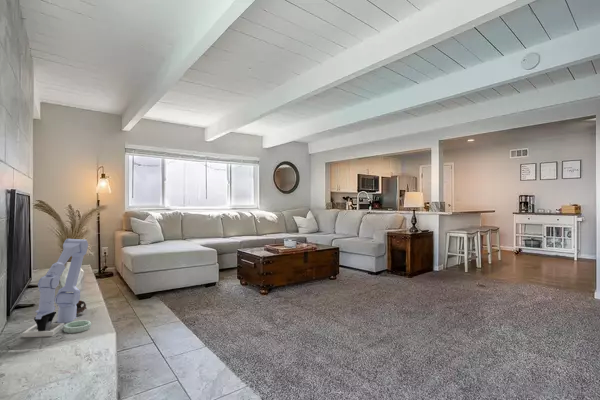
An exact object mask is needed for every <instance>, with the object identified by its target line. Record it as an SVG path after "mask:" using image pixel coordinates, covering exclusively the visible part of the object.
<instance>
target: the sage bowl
mask: <svg viewBox="0 0 600 400" xmlns="http://www.w3.org/2000/svg"><path fill="white" fill-rule="evenodd" d="M91 328H92V322H91V321H90V320H86V319H85V320H74V321H72V322H68V323H64V327H63V332H64V333H69V334H71V333H72V334H73V333H81V332H85V331H88V330H90V329H91Z"/></svg>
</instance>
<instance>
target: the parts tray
mask: <svg viewBox="0 0 600 400" xmlns="http://www.w3.org/2000/svg"><path fill="white" fill-rule="evenodd" d="M64 325H65V323H58V322H56V323H55V322H51V326H50V331H38V327H37V324H36V323H35V324H34V325H32V326H30V327H29V328H27V329H26V330H24V331H23V332H21V333H22V334H21V338H34V337H35V338H36V337H37V338H38V337H53V336H55V335H56V334H57V333H58V332H60V331H61V330H63V329H64Z"/></svg>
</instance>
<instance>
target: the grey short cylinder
mask: <svg viewBox="0 0 600 400" xmlns="http://www.w3.org/2000/svg"><path fill="white" fill-rule="evenodd" d="M51 323H52V322H51V321H47V324H46V328H45V331H50V326H51Z"/></svg>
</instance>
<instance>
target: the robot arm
mask: <svg viewBox="0 0 600 400" xmlns="http://www.w3.org/2000/svg"><path fill="white" fill-rule="evenodd" d="M88 248H89V242H88V240H87V239H85V238H84V239H81V238H80V239H79V238H66V239H65V240H64V242H63V244H62V250H61V251H62V252H61V253H60V255H59V257H58V259H57V261H56V262H54V263H52V265H51V266H50V267H49V269H48V271H47V272H46V274H45V275H44V276H41V277H40V278H39V281H38V282H37V287H38V292H39V302H38V309H37V310H35V313H36V315H35V317H34V318H33V320H34V322H35V324H37V327H38V331H45V328H46V324H47V321H51V323H53V320H54V319H55V318H54V317H55V316H56V314H57V320H56V323H64V324H67V323H70V322H73V321H75V319H77V314H78V313H77V306H76V304H77V303H78V302H79V300H80V301H81V290H80V289H79V288H78V287H77V285H78V281H79V277H80V272H81V269H82V268H81V267H82V265H83V260H84V257H85V256H86V255H87V251H88ZM70 258H71V260H70V263H69V269H68V272H67V275H66V280H65V283H64V286H63V287H61V288H59V289H58V291H57V293H56V288H57V287H58V286H59V284H60V280H61V276H62V274H63V272H64V271H65V269H66V266H65V265H66V263H67V262H68V261H69V259H70ZM55 304H56V306H57V307H58V309H57V311H55V310H56V306H55ZM76 313H77V314H76Z"/></svg>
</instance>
